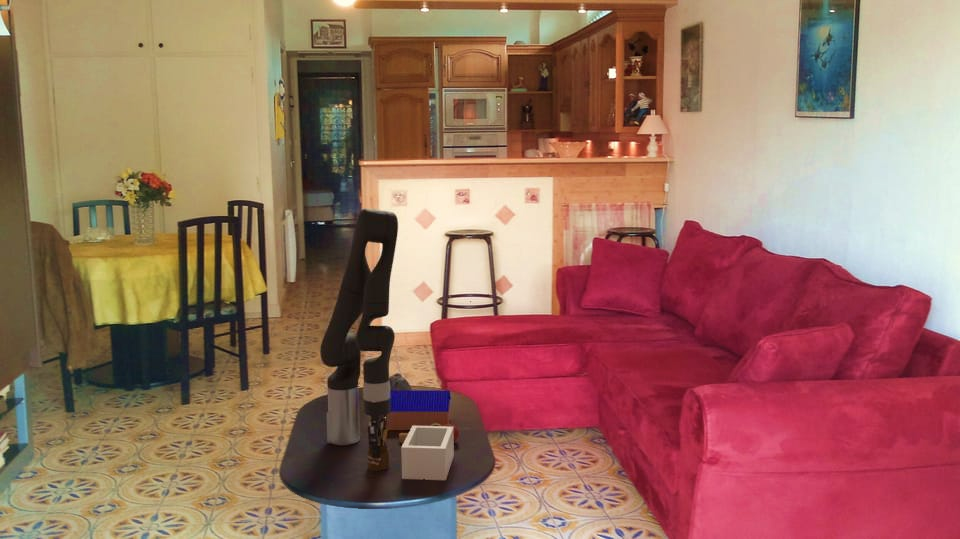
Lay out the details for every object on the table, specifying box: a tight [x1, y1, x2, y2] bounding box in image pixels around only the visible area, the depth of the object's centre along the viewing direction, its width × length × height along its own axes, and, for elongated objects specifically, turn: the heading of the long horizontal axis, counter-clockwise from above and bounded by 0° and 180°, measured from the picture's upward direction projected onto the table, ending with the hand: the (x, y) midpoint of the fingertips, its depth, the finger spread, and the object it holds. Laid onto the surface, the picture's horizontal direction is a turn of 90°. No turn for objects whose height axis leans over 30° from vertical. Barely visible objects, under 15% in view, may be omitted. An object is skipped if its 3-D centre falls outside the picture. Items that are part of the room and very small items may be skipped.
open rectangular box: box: [400, 426, 455, 481], centre depth 234 cm, size 12×17×9 cm
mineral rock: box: [389, 372, 413, 390], centre depth 294 cm, size 13×11×10 cm
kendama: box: [398, 423, 460, 444], centre depth 253 cm, size 8×6×18 cm
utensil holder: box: [367, 428, 390, 472], centre depth 234 cm, size 6×6×12 cm
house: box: [387, 389, 452, 430], centre depth 269 cm, size 12×20×12 cm, turn 88°
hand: (378, 453), depth 234 cm, fingers closed on utensil holder, 6 cm apart
